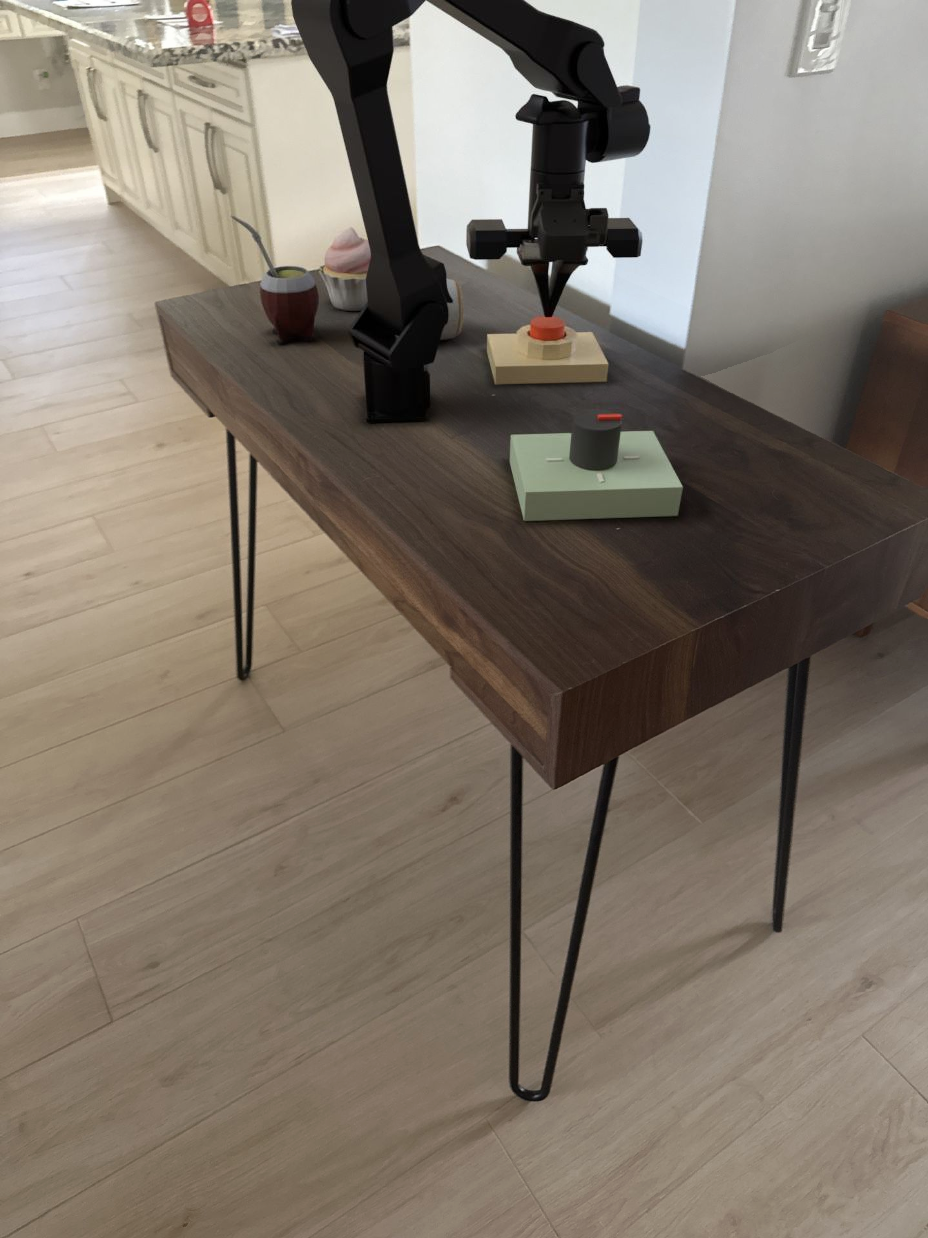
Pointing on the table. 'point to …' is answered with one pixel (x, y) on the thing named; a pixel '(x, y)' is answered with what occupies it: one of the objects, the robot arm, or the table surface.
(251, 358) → the table surface
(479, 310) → the table surface
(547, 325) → the power button
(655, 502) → the panel
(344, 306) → the cupcake
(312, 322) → the mate gourd
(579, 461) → the timer knob
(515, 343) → the beige button base
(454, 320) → the ceramic mug
